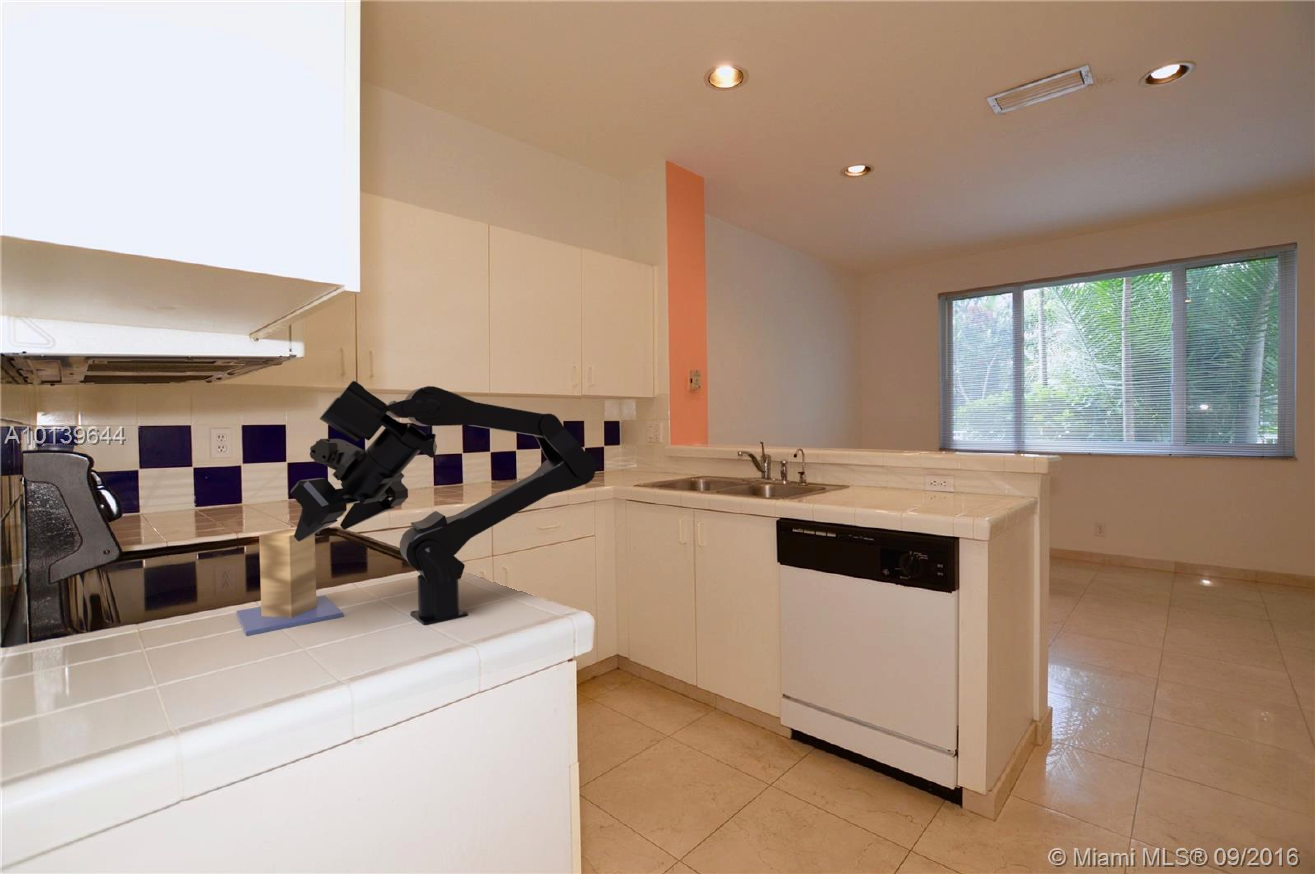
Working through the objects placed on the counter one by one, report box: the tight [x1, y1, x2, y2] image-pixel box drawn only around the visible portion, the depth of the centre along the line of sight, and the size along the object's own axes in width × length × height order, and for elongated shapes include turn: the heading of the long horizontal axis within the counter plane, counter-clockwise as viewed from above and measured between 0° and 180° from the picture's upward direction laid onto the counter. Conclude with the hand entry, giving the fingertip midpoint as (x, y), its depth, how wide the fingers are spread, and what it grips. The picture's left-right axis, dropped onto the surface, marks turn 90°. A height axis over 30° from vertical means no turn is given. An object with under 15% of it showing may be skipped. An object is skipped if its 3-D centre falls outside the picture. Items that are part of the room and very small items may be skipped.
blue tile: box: [236, 594, 344, 636], centre depth 90 cm, size 12×12×1 cm
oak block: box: [258, 528, 317, 618], centre depth 90 cm, size 5×5×12 cm
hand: (320, 532), depth 89 cm, fingers open, 9 cm apart
